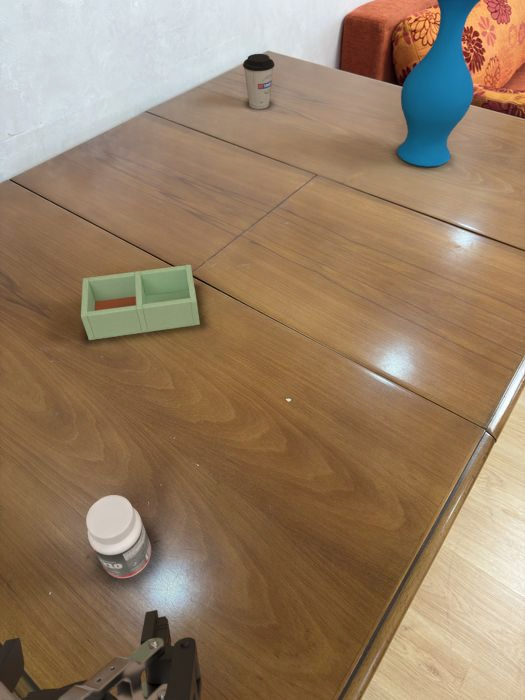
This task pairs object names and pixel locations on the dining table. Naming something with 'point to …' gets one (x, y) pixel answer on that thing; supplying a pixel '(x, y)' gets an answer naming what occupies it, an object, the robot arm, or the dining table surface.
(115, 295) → the holder
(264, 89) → the coffee cup
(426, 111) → the vase
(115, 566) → the pill bottle
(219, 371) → the dining table surface
